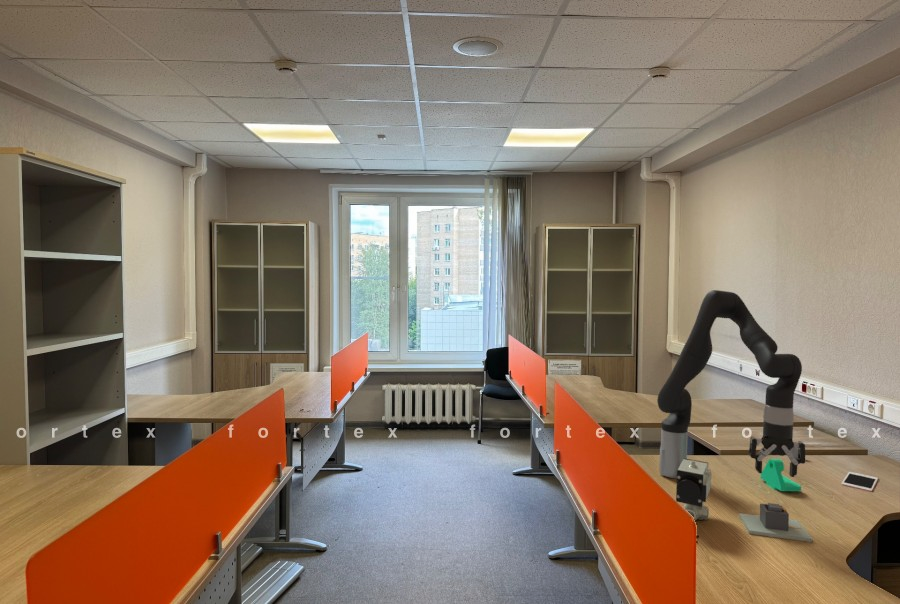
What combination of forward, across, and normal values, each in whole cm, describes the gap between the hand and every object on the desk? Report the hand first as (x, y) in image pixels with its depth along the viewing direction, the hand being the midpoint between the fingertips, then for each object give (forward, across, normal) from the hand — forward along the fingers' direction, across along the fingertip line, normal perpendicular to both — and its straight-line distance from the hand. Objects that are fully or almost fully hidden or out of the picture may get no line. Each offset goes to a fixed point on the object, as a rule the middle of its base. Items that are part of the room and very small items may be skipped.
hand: (775, 474), depth 158 cm
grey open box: (+15, 0, 0) cm, 15 cm away
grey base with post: (+16, 0, 0) cm, 17 cm away
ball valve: (+17, -22, 0) cm, 28 cm away
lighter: (+17, +26, +76) cm, 83 cm away
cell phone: (+17, +42, +53) cm, 70 cm away
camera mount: (+17, +12, +38) cm, 43 cm away
